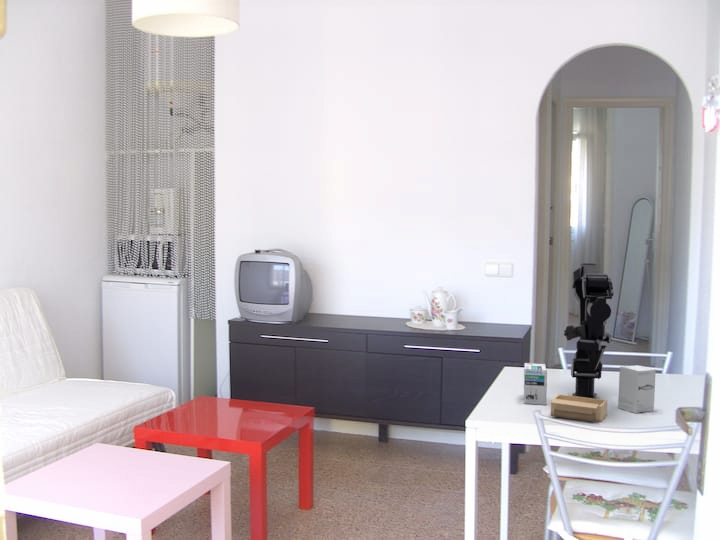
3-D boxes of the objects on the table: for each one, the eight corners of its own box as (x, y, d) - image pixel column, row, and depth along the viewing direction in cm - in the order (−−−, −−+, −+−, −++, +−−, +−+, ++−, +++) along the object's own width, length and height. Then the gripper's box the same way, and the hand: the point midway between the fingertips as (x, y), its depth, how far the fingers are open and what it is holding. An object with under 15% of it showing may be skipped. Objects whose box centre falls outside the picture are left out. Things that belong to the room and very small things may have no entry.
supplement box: (635, 413, 221) (637, 370, 220) (617, 407, 228) (618, 366, 227) (654, 411, 224) (656, 369, 223) (636, 405, 230) (637, 364, 230)
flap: (550, 402, 214) (551, 417, 216) (596, 408, 208) (596, 423, 210) (553, 398, 217) (553, 413, 218) (598, 404, 211) (598, 419, 212)
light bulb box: (546, 405, 229) (547, 370, 229) (523, 404, 231) (524, 368, 230) (545, 397, 240) (546, 363, 239) (523, 396, 241) (524, 362, 240)
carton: (558, 409, 225) (558, 394, 225) (606, 415, 218) (607, 400, 218) (550, 415, 218) (550, 399, 217) (600, 422, 211) (601, 406, 211)
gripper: (574, 311, 234) (573, 362, 235) (559, 318, 218) (557, 372, 219) (612, 314, 229) (610, 365, 230) (599, 321, 212) (597, 377, 213)
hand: (593, 370), depth 223 cm, fingers closed
